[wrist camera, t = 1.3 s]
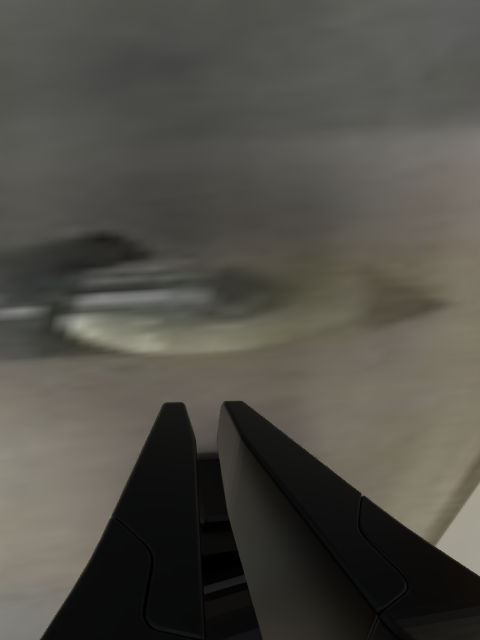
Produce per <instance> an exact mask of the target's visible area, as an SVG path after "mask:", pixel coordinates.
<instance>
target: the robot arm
mask: <svg viewBox="0 0 480 640" xmlns="http://www.w3.org/2000/svg"><path fill="white" fill-rule="evenodd" d="M217 446H218V453H219V459H214V460H197V449H196V439H195V435H194V432H193V428H192V425H191V422H190V419H189V416H188V412H187V409H186V406H185V404H184V403H182V402H167V403H164V404H163V406H162V408H161V410H160V412H159V414H158V416H157V419H156V421H155V423H154V425H153V427H152V429H151V431H150V434H149V436H148V438H147V440H146V442H145V444H144V447H143V449H142V451H141V453H140V455H139V457H138V460H137V462H136V464H135V466H134V468H133V470H132V473H131V475H130V477H129V479H128V481H127V483H126V486H125V488H124V490H123V492H122V494H121V496H120V499H119V501H118V503H117V505H116V507H115V509H114V511H113V514H112V516H111V519H110V520H109V522H108V524H107V526H106V528H105V530H104V532H103V535H102V537H101V539H100V541H99V543H98V544H97V546H96V548H95V550H94V552H93V554H92V556H91V558H90V560H89V562H88V564H87V565H86V567H85V569H84V570H83V572H82V574H81V575H80V577H79V579H78V580H77V582H76V584H75V585H74V587H73V589H72V590H71V592H70V594H69V595H68V597H67V598H66V600H65V601H64V603H63V604H62V606H61V608H60V609H59V611H58V612H57V614H56V615H55V617H54V618H53V620H52V621H51V623H50V625H49V626H48V628H47V629H46V631H45V632H44V634H43V635H42V637H41V639H40V640H480V576H478V575H477V574H475V573H474V572H472V571H471V570H469V569H468V568H466V567H465V566H463V565H462V564H460V563H459V562H457V561H456V560H454V559H453V558H451V557H450V556H448V555H447V554H445V553H444V552H442V551H441V550H439V549H438V548H436V547H435V546H433V545H432V544H430V543H429V542H427V541H426V540H424V539H423V538H421V537H420V536H418V535H417V534H416V533H414V532H413V531H411V530H410V529H408V528H407V527H405V526H404V525H403V524H401V523H400V522H399V521H397V520H396V519H395V518H393V517H392V516H391V515H389V514H388V513H386V512H385V511H384V510H382V509H381V508H380V507H378V506H377V505H376V504H375V503H373V502H372V501H371V500H369V499H368V498H367V497H366V496H362V494H361V493H360V492H359V491H358V490H356V489H355V488H354V487H353V486H351V485H350V484H349V483H347V482H346V481H345V480H344V479H342V478H341V477H340V476H338V475H337V474H336V473H335V472H333V471H332V470H331V469H329V468H328V467H327V466H326V465H324V464H323V463H322V462H320V461H319V460H318V459H317V458H315V457H314V456H313V455H311V454H310V453H309V452H308V451H306V450H305V449H304V448H302V447H301V446H300V445H299V444H297V443H296V442H295V441H293V440H292V439H291V438H290V437H288V436H287V435H286V434H284V433H283V432H282V431H280V430H279V429H278V428H277V427H275V426H274V425H273V424H271V423H270V422H269V421H268V420H266V419H265V418H264V417H262V416H261V415H260V414H259V413H257V412H256V411H255V410H253V409H252V408H251V407H250V406H248V405H247V404H246V403H244V402H243V401H225V402H223V403H222V406H221V411H220V418H219V425H218V432H217Z"/></svg>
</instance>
